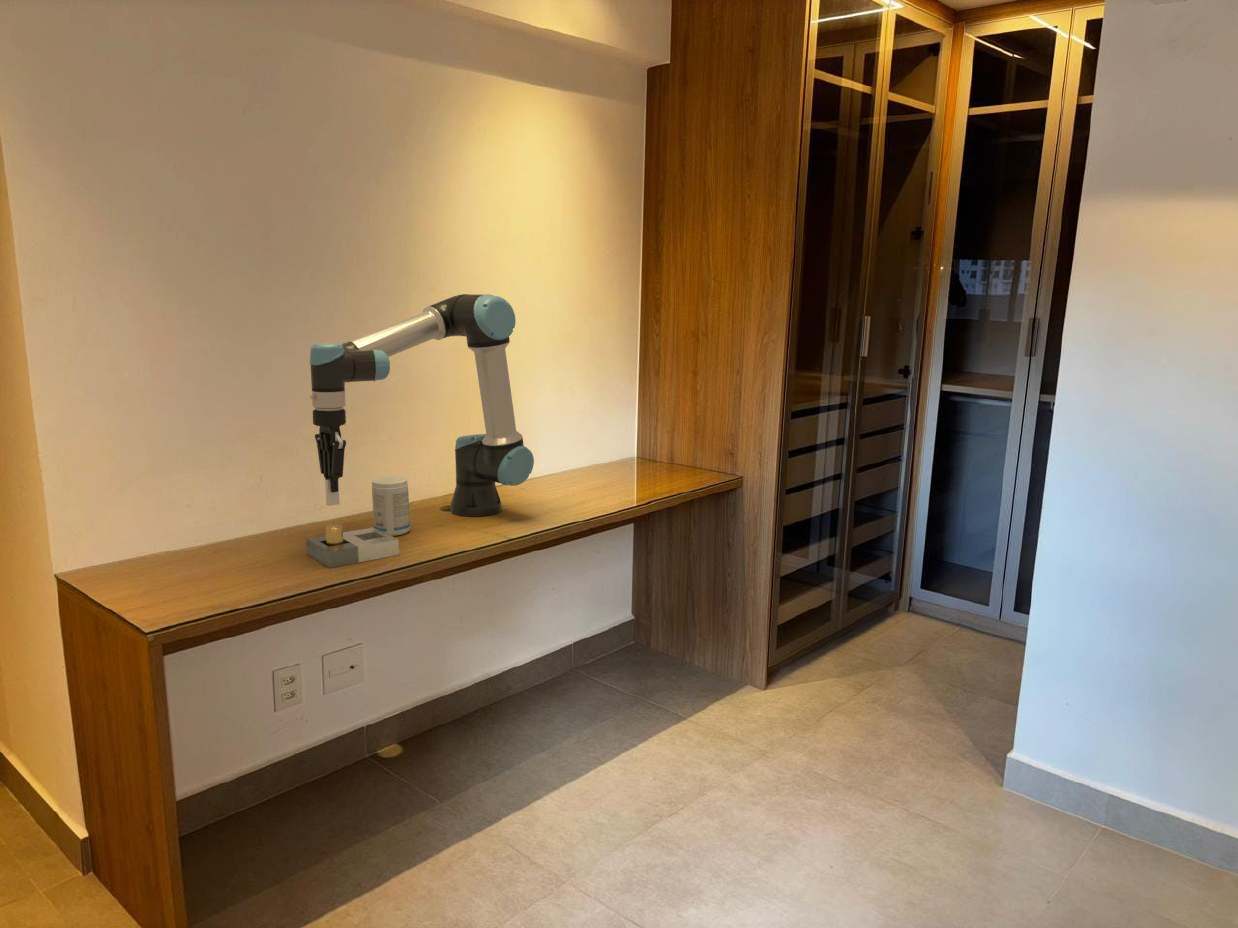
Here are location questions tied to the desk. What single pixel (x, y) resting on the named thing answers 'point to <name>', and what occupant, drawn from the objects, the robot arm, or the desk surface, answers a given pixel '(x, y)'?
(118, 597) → the desk surface
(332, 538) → the amber translucent cylinder
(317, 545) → the block
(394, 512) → the supplement tub
